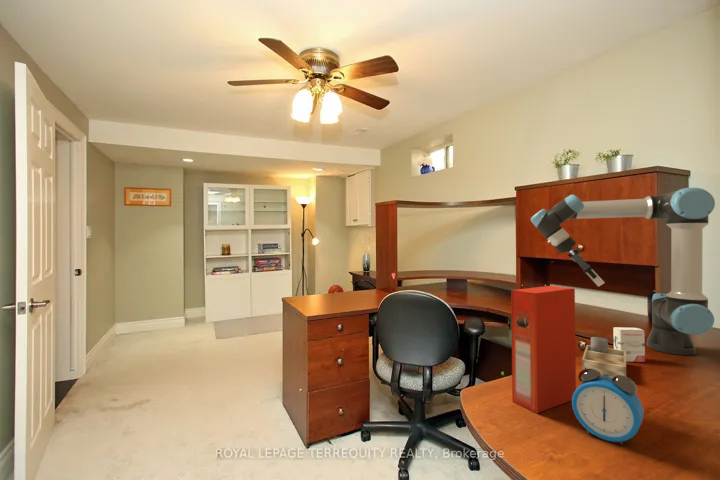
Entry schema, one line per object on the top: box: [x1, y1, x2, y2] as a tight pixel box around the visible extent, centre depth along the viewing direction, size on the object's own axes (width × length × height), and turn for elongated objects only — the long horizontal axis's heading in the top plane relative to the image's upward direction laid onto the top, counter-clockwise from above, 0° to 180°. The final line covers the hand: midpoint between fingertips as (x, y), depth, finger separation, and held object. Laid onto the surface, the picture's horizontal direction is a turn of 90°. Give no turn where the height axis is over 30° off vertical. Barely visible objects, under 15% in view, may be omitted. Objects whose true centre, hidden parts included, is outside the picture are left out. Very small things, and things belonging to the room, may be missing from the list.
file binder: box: [510, 285, 577, 414], centre depth 100 cm, size 8×17×32 cm, turn 118°
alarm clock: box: [571, 368, 644, 447], centre depth 82 cm, size 13×6×15 cm, turn 44°
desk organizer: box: [581, 336, 627, 378], centre depth 124 cm, size 12×20×9 cm, turn 143°
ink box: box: [612, 326, 646, 363], centre depth 133 cm, size 9×5×12 cm, turn 84°
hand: (600, 283), depth 140 cm, fingers open, 13 cm apart
